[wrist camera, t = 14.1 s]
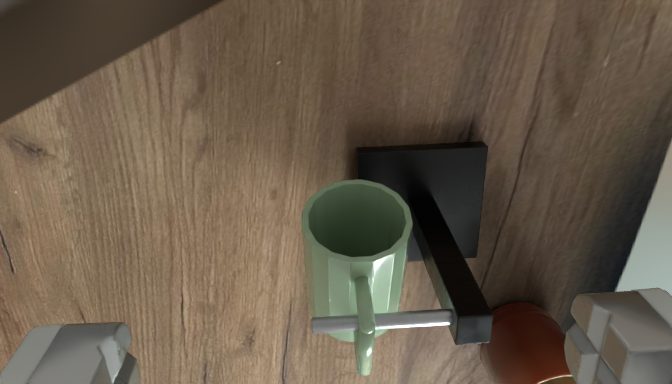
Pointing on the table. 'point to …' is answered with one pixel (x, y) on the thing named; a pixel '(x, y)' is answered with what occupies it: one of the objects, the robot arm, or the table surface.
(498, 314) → the mug
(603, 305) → the robot arm
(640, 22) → the table surface
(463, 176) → the mug stand
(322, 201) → the green mug
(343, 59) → the table surface
